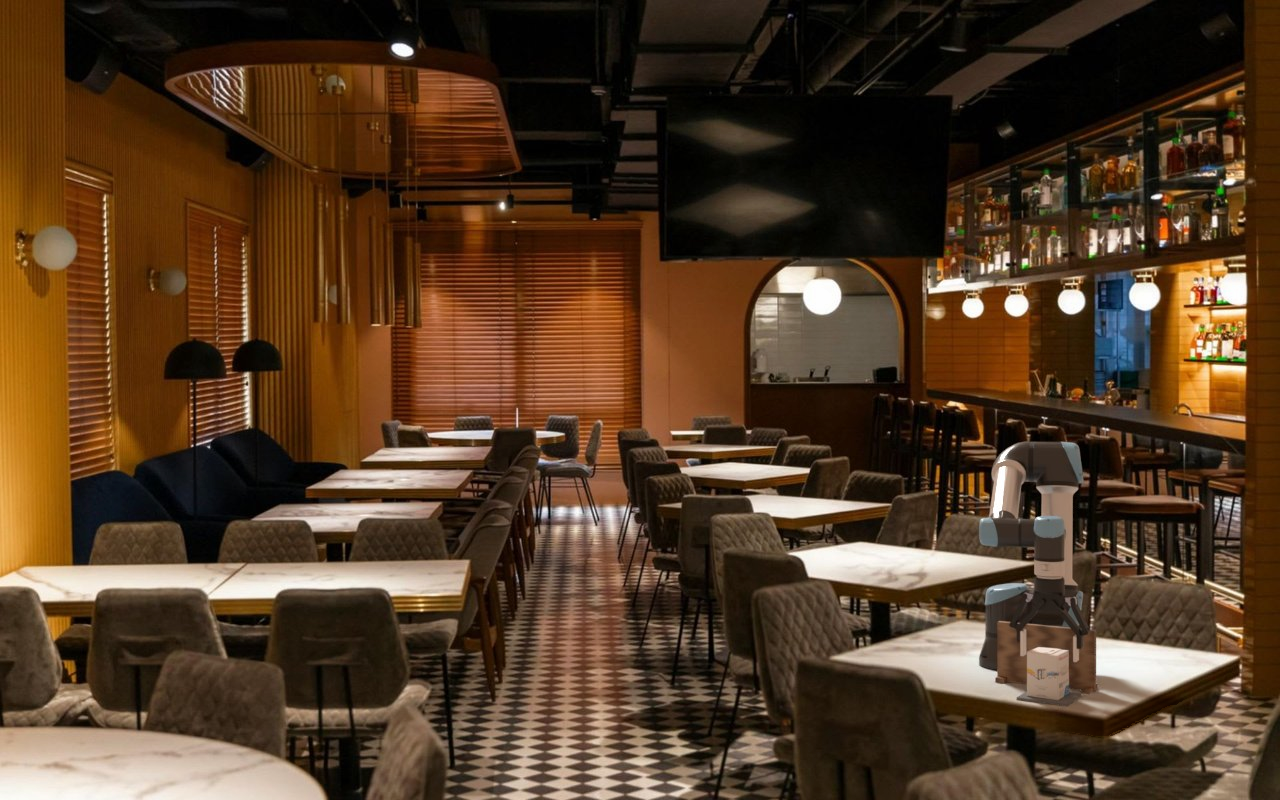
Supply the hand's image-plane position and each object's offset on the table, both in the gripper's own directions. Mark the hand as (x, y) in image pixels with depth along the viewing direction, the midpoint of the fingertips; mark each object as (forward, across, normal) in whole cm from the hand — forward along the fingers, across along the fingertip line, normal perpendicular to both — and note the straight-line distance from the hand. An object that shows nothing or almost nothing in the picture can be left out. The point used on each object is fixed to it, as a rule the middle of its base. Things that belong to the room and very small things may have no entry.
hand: (1049, 658), depth 356 cm
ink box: (+10, 0, -1) cm, 10 cm away
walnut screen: (+10, -5, +13) cm, 18 cm away
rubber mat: (+10, 0, -1) cm, 10 cm away
